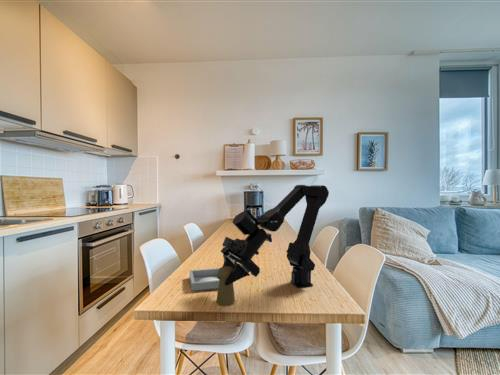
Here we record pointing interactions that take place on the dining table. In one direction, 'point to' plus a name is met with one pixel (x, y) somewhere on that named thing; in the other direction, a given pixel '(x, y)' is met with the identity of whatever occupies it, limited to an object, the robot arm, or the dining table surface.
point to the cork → (225, 288)
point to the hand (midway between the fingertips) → (222, 281)
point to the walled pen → (204, 279)
